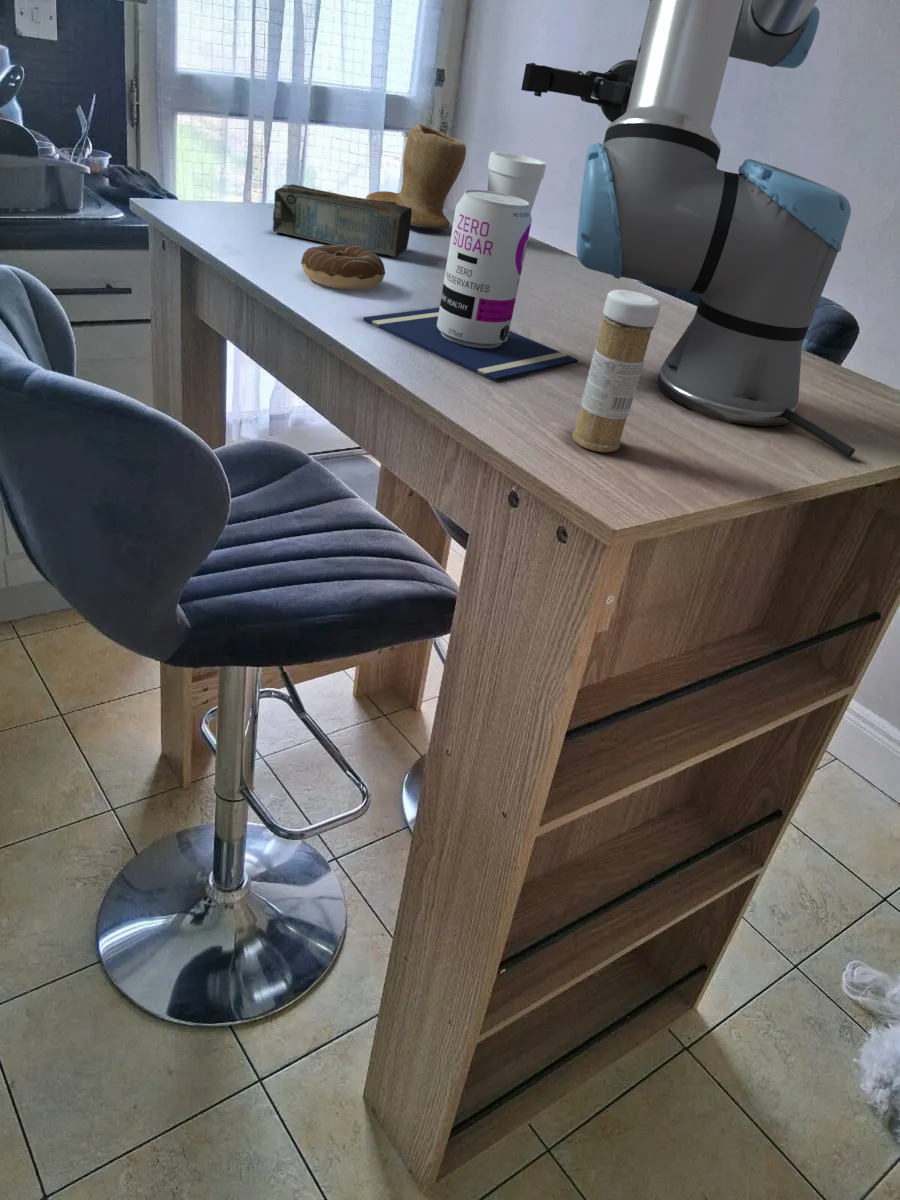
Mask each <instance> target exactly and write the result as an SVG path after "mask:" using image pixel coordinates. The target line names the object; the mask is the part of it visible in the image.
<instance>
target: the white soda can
mask: <svg viewBox="0 0 900 1200" xmlns="http://www.w3.org/2000/svg"><path fill="white" fill-rule="evenodd" d="M531 213H532V212H531ZM531 213H530V209H529V202H527V201H526V200H523V199H520V198H518V197H514V196H511V195H507V194H502V193H498V192H492V191H488V190H485V189H473V188H471V189H465V190H464V192H463V195H462V197H461V198H460V200H459V201H458V202H457V204H456V205H455V210H454V214H453V215H454V216H453V217H454V218H453V221H452V222H453V223H452V229H451V234H450V242H449V246H448V254H447V260H446V266H445V271H444V278H443V284H442V291H441V297H440V303H439V307H438V308H439V315H438V321H437V327H438V329H439V330H440V331H441V334H442V335H443V337H445V338H447V339H448V340H450V341H453V342H455V343H458V344H461V345H465V346H469V347H476V348H495V347H498V346H500V345H501V343H503V342H505V341H507V339H508V334H509V331H510V330H511V329H510V328H511V324H512V320H513V315H514V309H515V304H516V299H517V295H518V290H519V285H520V280H521V275H522V270H523V265H524V261H525V255H526V251H527V246H528V240H529V236H530V231H531V227H532V221H533V217H532V214H531Z"/></svg>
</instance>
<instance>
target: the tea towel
mask: <svg viewBox="0 0 900 1200" xmlns="http://www.w3.org/2000/svg"><path fill="white" fill-rule="evenodd" d="M439 308H440V307H433V308H426V309H418V310H409V311H401V312H395V313H386V314H377V315H369V316H364V317H363V318H362V319H363V322H365V323H368V324H370V325H372V326H374V327H376V328H379V329H380V330H383V331H385V332H387V333H389V334H392V335H393V336H396V337H398V338H400V339H402V340H404V341H407V342H409V343H411V344H412V345H413V344H414V345H415V346H418V347H420V348H422V349H424V350H425V351H428V352H431V353H433V354H435V355H437V356H439V357H442V358H443V359H445V360H448V361H450V362H452V363H455V364H457V365H459V366H461V367H464V369H468V370H470V371H472V372H473V373H476V374H478V375H481V376H483V377H485V378H487V379H489V380H492V381H494V382H499V381H504V380H508V379H512V378H516V377H517V378H518V377H521V376H525V375H530V374H535V373H539V372H544V371H549V370H553V369H556V368H562V367H565V366H571V365H575V364H578V363H579V359H578V358H576V357H573V356H571V355H569V354H566V353H564V352H561V351H559V350H556V349H554V348H552V347H550V346H548V345H544V344H542V343H539V342H538V341H535V340H533V339H530V338H529V337H526V336H523V335H521V334H518V333H516V332H513V331H512V330H509V334H508V339H507V341H505V342H503V343H501V345H500V346H498V347H495V348H476V347H469V346H465V345H461V344H458V343H455V342H453V341H450V340H448V339H447V338H445V337H443V335H442V334H441V331H440V330H439V329H438V327H437V321H438V315H439Z"/></svg>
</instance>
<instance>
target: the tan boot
mask: <svg viewBox="0 0 900 1200" xmlns="http://www.w3.org/2000/svg"><path fill="white" fill-rule="evenodd" d="M466 155H467V147H466V144H465V143H464V142H462V141H461V140H459V139H457V138H454V137H453V136H449V135H447V134H444V133H442V132H440V131H438V130H436V129H434V128H431V127H428V126H425V125H423V124H415V125H414V126H413V127H411V129H410V130H409V132H408V135H407V139H406V141H405V147H404V152H403V159H402V169H403V170H402V185H401V188H400V189H401V190H400V192H393V191H387V190H386V191H381V190H380V191H375V192H371V193H369V194H367V195H366V197H365V199H373V200H380V201H390V202H395V203H397V204H398V205H401V206H405V207H409V208H410V207H411V209H412V215H411V225H410V226H413V227H416V228H417V227H418V228H423V229H435V230H436V229H437V230H443V229H448V228H450V226H451V222H450V221H449V219H448V218H447V217H446V215H445V214H444V205H445V200H446V198H447V197H448V194H449V193H450V191H451V189H452V188H453V186H454V184H455V182H456V180H457V179H458V177H459V175H460V173H461V171H462V168H463V166H464V163H465V161H466Z"/></svg>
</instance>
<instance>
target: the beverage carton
mask: <svg viewBox="0 0 900 1200" xmlns="http://www.w3.org/2000/svg"><path fill="white" fill-rule="evenodd" d="M273 195H274V197H273V200H274V201H273V203H274V204H273V211H272V231H273V232H274V233H279V234H284V235H288V236H294V237H297V238H302V239H306V240H310V241H316V242H320V243H324V244H325V243H326V244H328V245H354V246H359V247H362V248H365V249H368V250H370V251H372V252H374V253H375V254H377V255H384V256H387V257H393V258H395V257H397V256H399V255H400V254H402V253H403V252H405V251H406V250H407V249H408V244H409V239H410V233H411V226H412V225H411V215H412V209H411V207H410V208H409V207H405V206H401V205H398V204H397V203H395V202H390V201H380V200H373V199H366V198H363V197H357V196H351V195H345V194H340V193H336V192H331V191H326V190H321V189H315V188H311V187H307V186H305V185H304V186H302V185H297V184H292V183H291V184H282V187H280V188H279V187H278V188H276V189H275V190H274V194H273Z"/></svg>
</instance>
